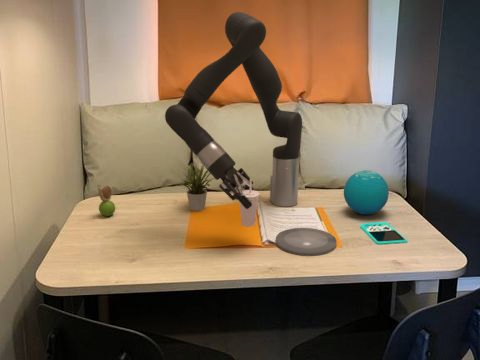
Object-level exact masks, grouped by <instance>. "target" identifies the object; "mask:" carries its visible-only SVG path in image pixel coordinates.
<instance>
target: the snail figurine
mask: <svg viewBox="0 0 480 360" xmlns="http://www.w3.org/2000/svg"><path fill="white" fill-rule="evenodd" d="M97 187H98V188H97V191H98V196H99V198H100V200H101V202H100V204H99V206H98V211H99V213H100V214H101V216H104V217H110V216H112V215H114V213H115V212H116V204H115V203H114V202H113V201H112V200H111V198H112V196H111V195H112V188H111V186H109V185H105V186H103V188H102V187H101V184H97Z"/></svg>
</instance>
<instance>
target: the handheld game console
mask: <svg viewBox="0 0 480 360" xmlns="http://www.w3.org/2000/svg"><path fill="white" fill-rule="evenodd" d="M359 228H360V229H361V230H362V231H363V232H364V233H365V234H366V235H367V237H369V238H370V239H371V241H373V242H374V243H375V244H376V245H377V246H379V245H392V244H394V245H395V244H408V239H406V238H405V237H404V236H403V235H402V234H401V233H400V232H399V231H397V230H396V229H395V228H394V227H393V226H392V225H391V224H390V223H388V222H387V221H379V222H378V221H376V222H366V223H362V224H360V225H359Z"/></svg>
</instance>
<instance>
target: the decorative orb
mask: <svg viewBox="0 0 480 360" xmlns="http://www.w3.org/2000/svg"><path fill="white" fill-rule="evenodd" d="M389 188H390V187H389V186H388V183H387V181H386V180H385V178H384V177H383V176H382V175H381V174H380V173H377V172H375V171H372V170H366V169H365V170H364V169H363V170H360V171H357V172H355V173H353V174H352V175H350V176H349V177H348V179H347V180H346V182H345V185H344V187H343V198H344V200H345V203H346V204H347V206H348V207H349V208H350V210H352V211H353V212H355V213H357V214H358V215H359V214H360V215H372V214H376V213H378V212H380V210H382V209H383V208H384V207H385V206H386V204H387V202H388V199H389V194H390V191H389Z"/></svg>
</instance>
